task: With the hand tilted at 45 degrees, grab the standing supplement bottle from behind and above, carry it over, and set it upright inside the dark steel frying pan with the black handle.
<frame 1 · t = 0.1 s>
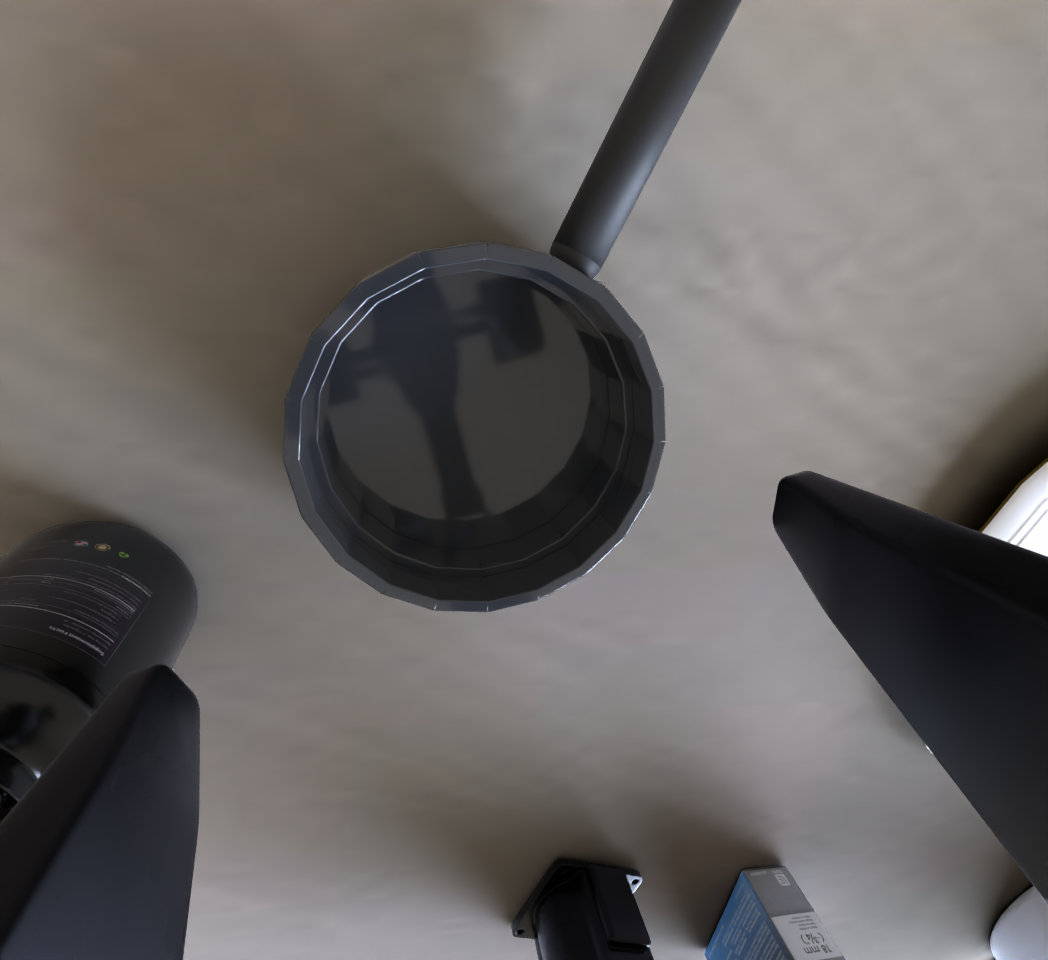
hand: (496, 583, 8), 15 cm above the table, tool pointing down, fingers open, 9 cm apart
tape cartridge: (741, 905, 41), on the table
cylinder vase: (1042, 908, 52), on the table
supplement bottle: (111, 589, 23), on the table
pan: (471, 417, 23), on the table
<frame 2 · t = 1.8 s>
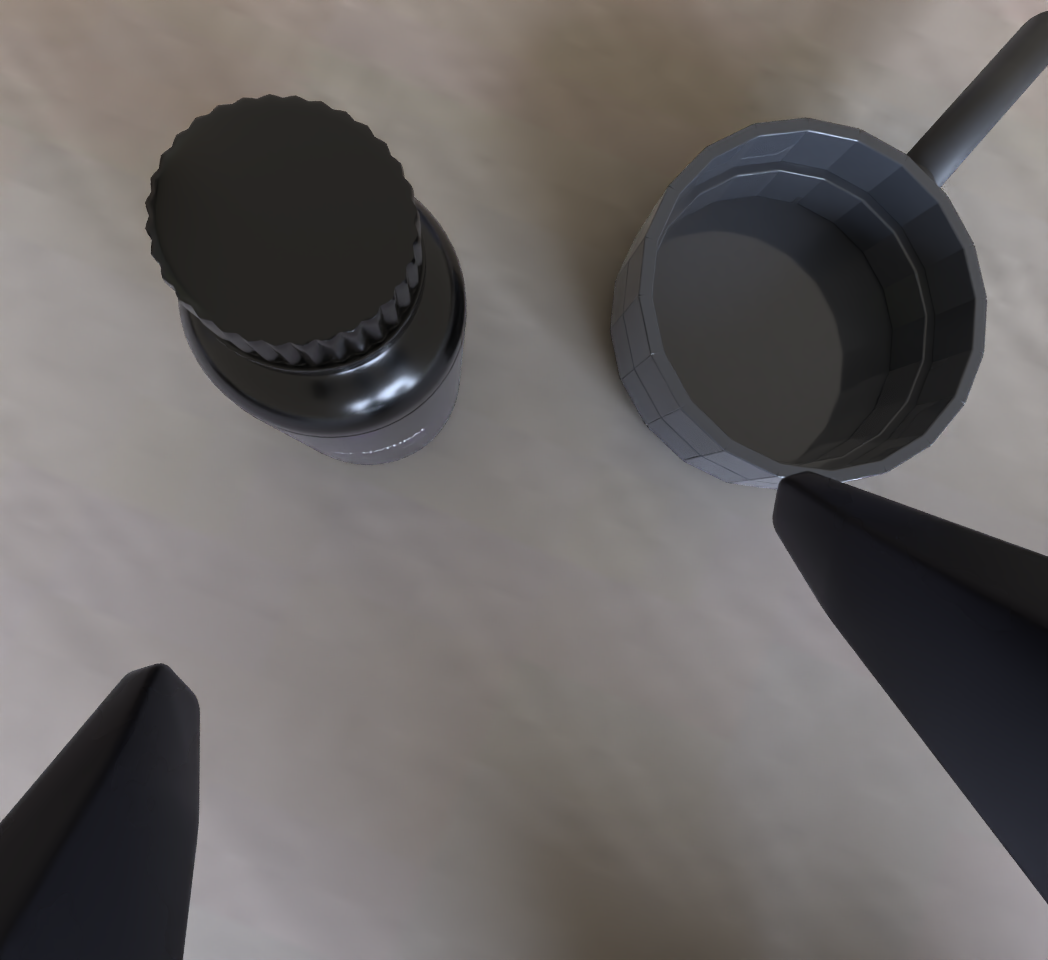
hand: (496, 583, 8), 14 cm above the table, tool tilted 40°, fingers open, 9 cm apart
supplement bottle: (374, 380, 22), on the table
pan: (757, 334, 24), on the table
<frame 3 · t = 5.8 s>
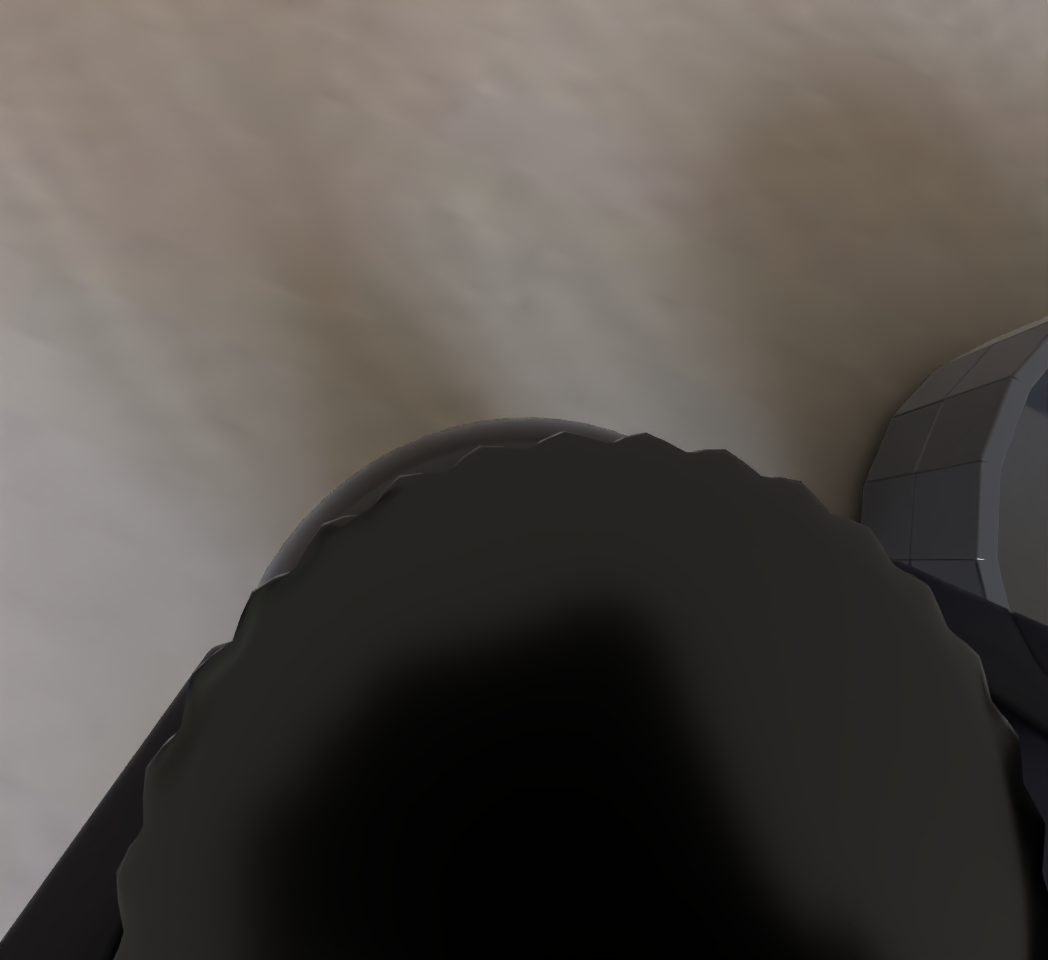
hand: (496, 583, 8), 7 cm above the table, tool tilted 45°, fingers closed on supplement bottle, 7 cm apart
supplement bottle: (500, 625, 15), on the table, touching gripper
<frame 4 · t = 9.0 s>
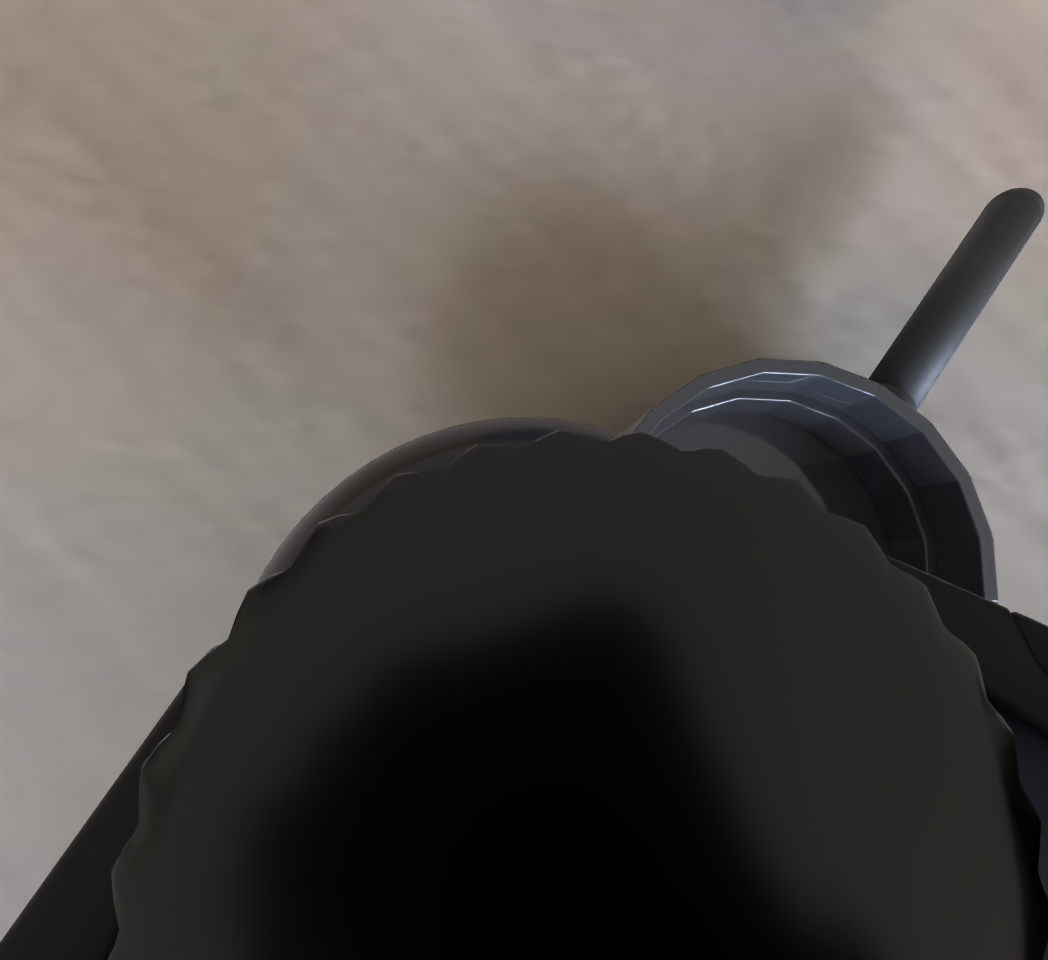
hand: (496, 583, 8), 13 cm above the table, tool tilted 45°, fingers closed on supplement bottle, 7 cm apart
supplement bottle: (499, 625, 15), point 6 cm above the table, touching gripper
pan: (737, 561, 22), on the table
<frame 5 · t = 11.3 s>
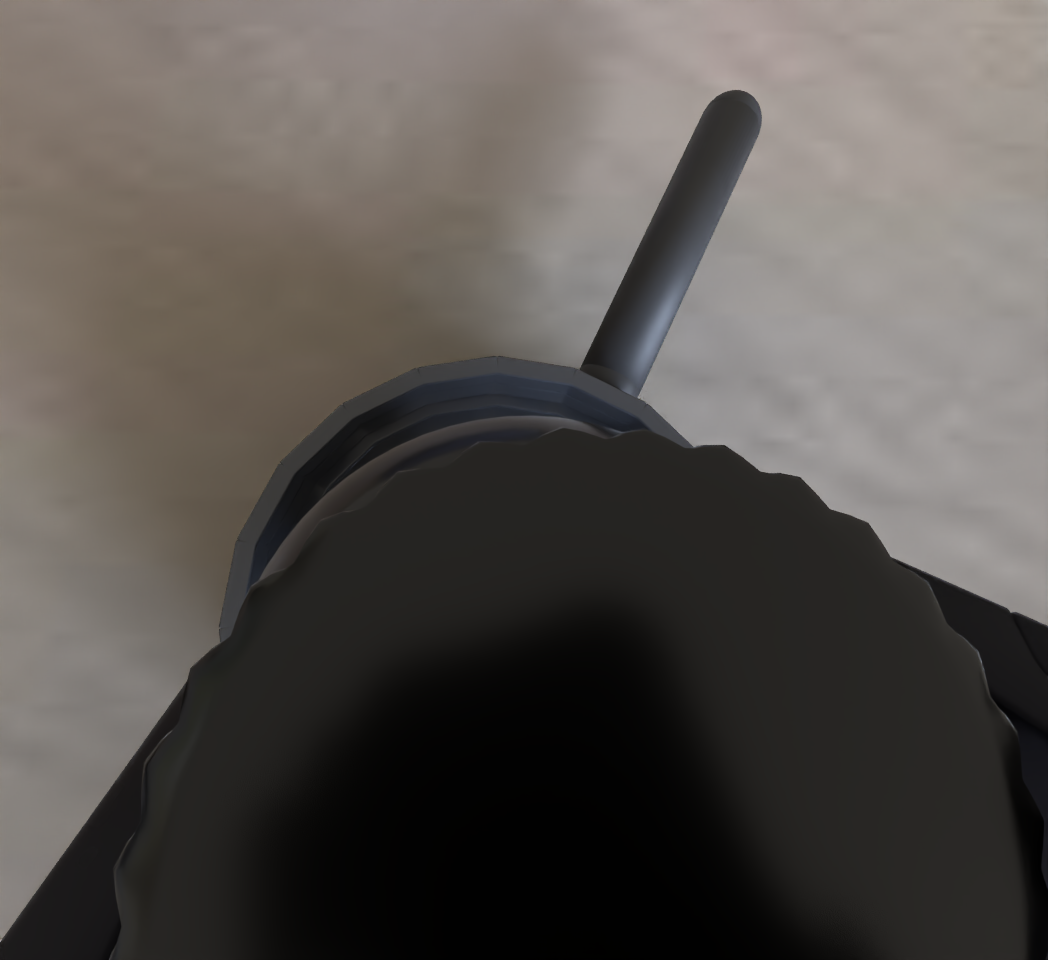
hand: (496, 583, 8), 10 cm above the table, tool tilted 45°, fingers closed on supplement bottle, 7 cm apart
supplement bottle: (499, 624, 15), point 3 cm above the table, touching gripper
pan: (496, 602, 18), on the table
when the fingers open (7 cm above the table, at t = 12.7 s): supplement bottle stays where it is, resting on pan.
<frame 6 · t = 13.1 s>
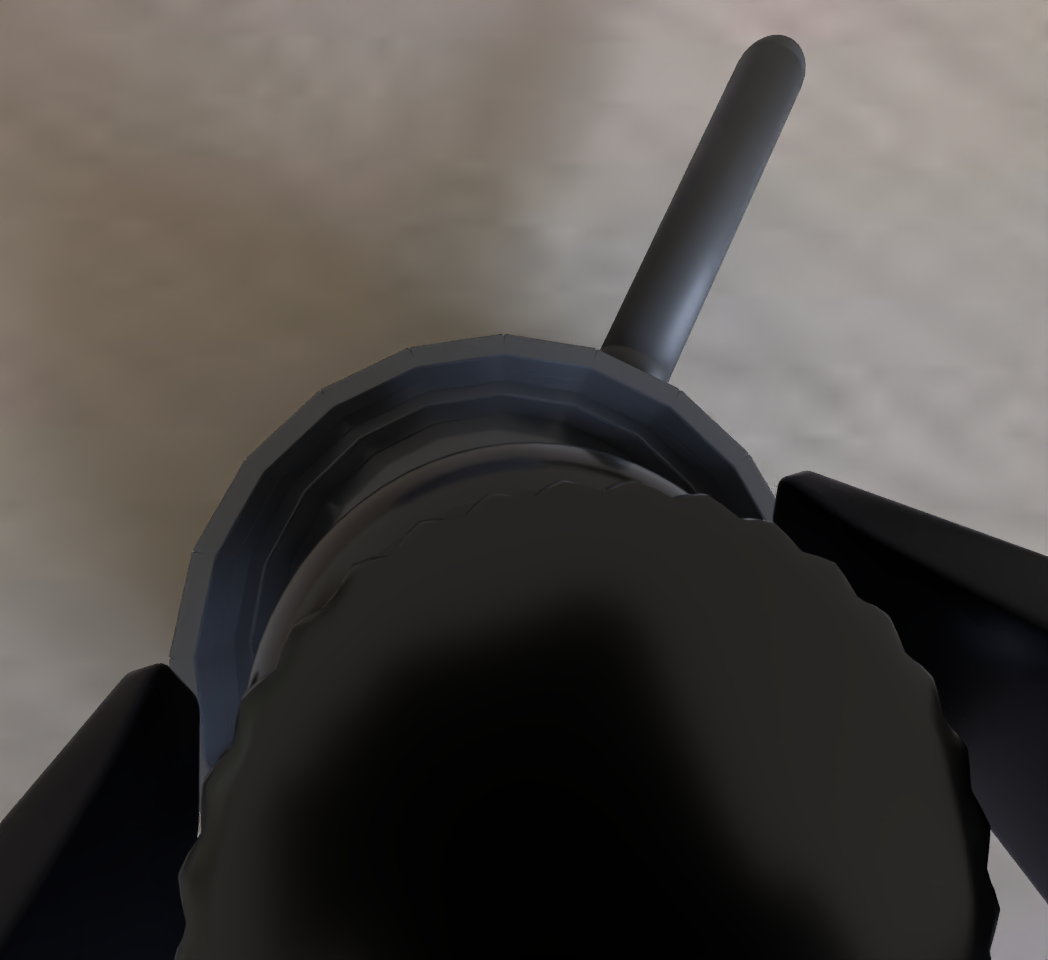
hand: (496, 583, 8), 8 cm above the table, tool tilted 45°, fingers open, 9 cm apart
supplement bottle: (502, 631, 15), resting on pan
pan: (501, 622, 16), on the table
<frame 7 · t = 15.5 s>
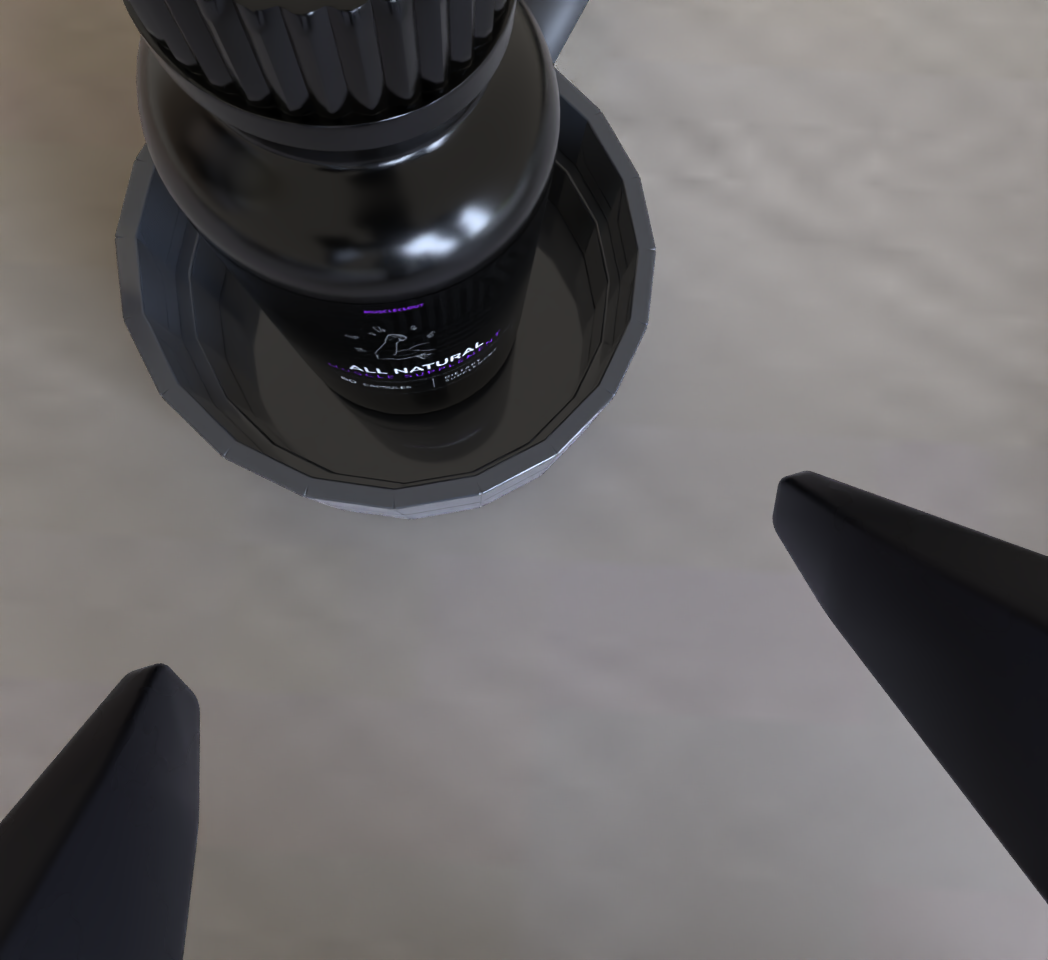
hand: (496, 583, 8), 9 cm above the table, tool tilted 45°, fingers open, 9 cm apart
supplement bottle: (412, 315, 18), resting on pan
pan: (414, 314, 18), on the table
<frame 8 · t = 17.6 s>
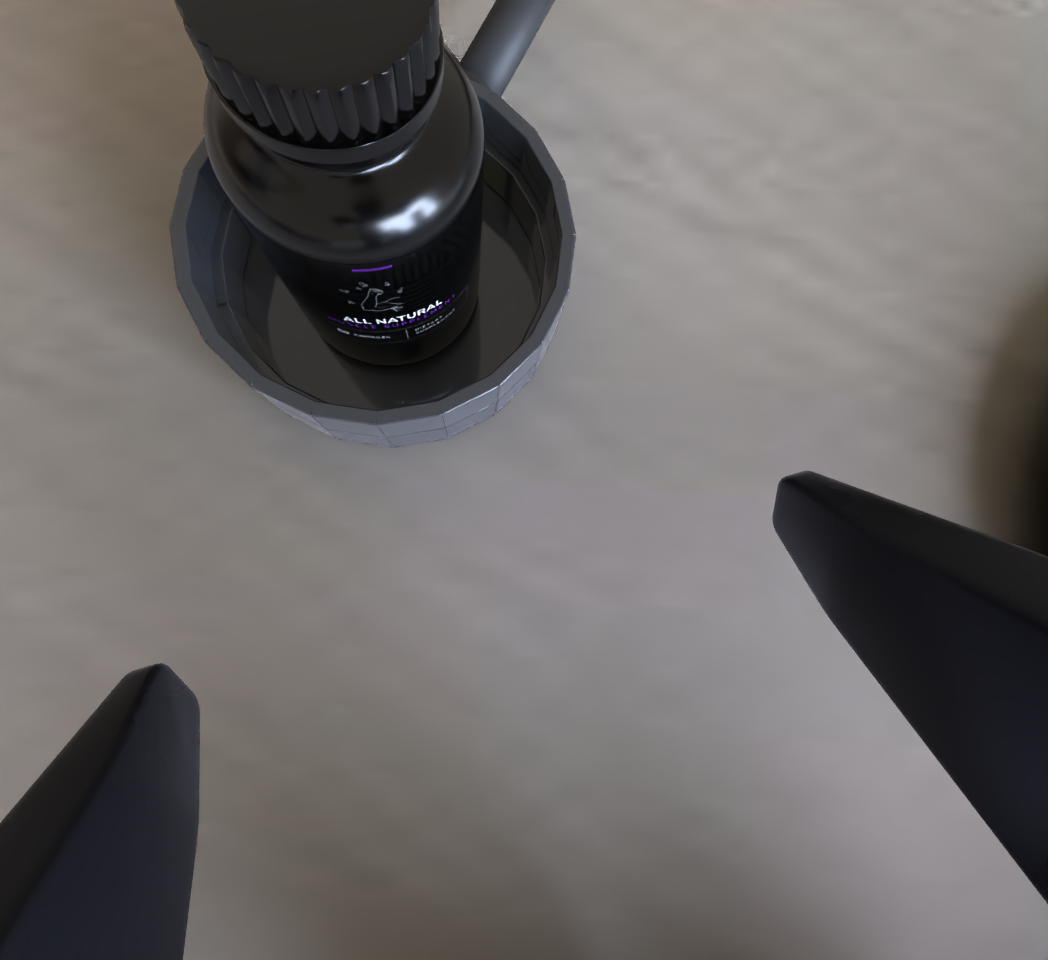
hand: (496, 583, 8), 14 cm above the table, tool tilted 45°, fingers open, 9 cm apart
supplement bottle: (394, 289, 22), resting on pan
pan: (396, 289, 23), on the table
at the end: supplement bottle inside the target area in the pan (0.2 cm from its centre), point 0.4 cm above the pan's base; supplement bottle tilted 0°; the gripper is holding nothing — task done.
